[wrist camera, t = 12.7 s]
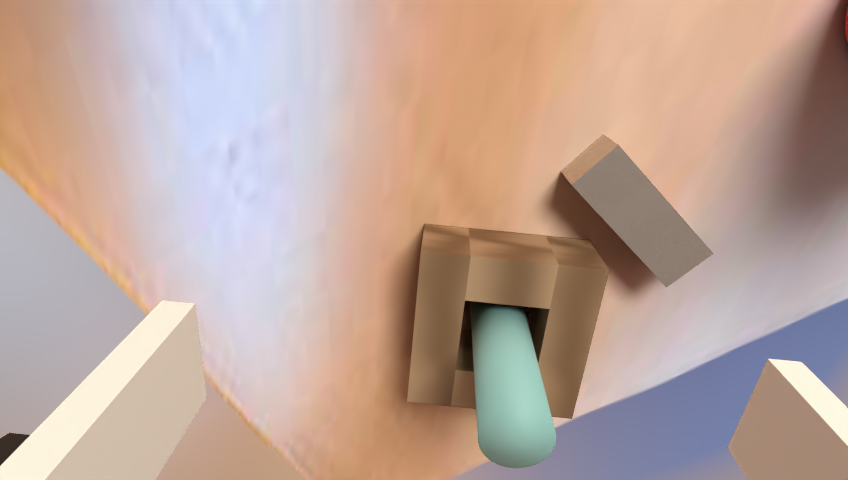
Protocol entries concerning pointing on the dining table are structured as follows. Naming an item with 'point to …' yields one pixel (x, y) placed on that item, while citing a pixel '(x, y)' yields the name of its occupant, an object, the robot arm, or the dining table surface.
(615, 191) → the grey bar
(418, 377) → the socket block
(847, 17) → the wine bottle
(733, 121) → the dining table surface
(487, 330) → the peg
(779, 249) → the dining table surface
